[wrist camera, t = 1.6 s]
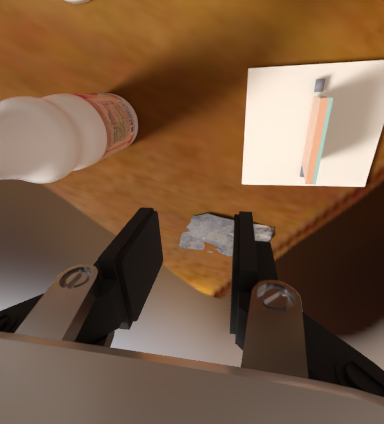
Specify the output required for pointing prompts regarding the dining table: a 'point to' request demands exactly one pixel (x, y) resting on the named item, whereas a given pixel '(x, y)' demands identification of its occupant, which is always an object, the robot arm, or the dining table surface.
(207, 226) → the stone slab
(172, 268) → the dining table surface
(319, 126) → the tile
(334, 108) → the board
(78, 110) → the fruit juice
